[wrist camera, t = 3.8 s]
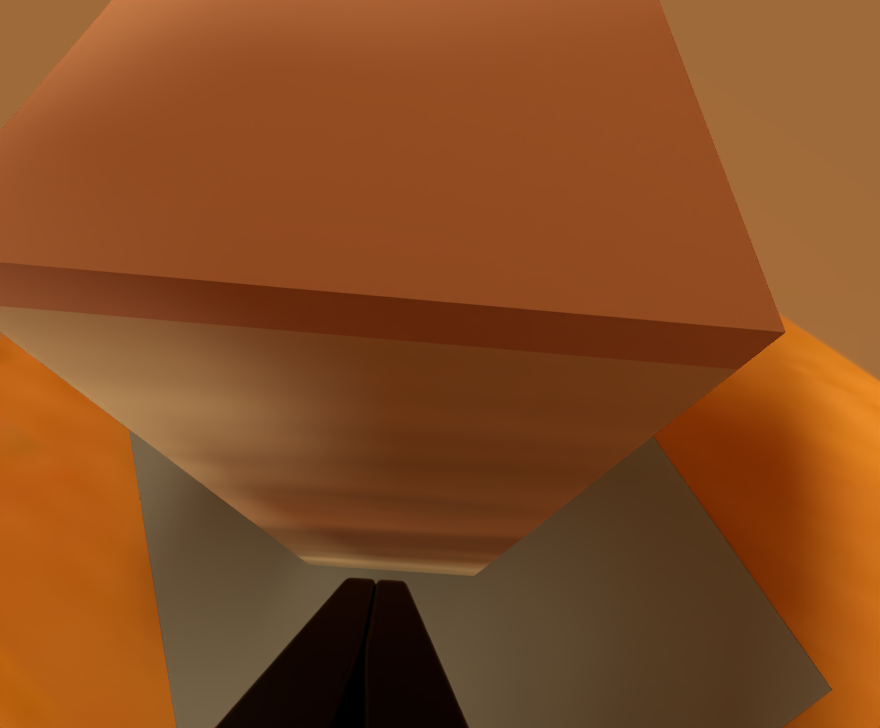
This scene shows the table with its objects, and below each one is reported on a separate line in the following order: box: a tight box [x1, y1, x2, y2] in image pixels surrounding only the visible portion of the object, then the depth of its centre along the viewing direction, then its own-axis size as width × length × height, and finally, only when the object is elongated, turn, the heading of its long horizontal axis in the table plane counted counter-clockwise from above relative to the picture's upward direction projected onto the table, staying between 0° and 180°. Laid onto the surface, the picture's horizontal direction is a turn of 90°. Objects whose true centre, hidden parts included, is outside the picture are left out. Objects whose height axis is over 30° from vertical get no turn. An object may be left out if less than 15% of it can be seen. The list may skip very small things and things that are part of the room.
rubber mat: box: [129, 429, 832, 728], centre depth 14 cm, size 15×19×1 cm
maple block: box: [0, 0, 785, 576], centre depth 9 cm, size 4×4×12 cm
